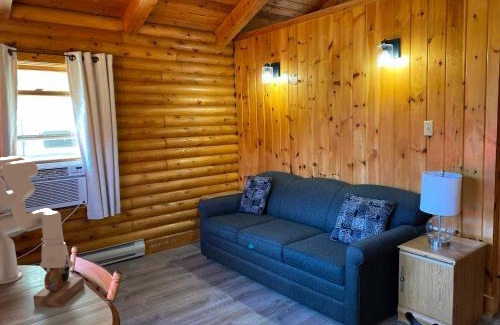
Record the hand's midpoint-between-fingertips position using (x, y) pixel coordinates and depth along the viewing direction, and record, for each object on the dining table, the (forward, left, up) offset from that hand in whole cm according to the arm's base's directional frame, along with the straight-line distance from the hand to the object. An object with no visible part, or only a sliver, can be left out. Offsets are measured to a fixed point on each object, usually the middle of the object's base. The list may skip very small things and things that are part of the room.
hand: (58, 280), depth 173 cm
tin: (0, 0, -3) cm, 3 cm away
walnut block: (0, 0, -7) cm, 7 cm away
